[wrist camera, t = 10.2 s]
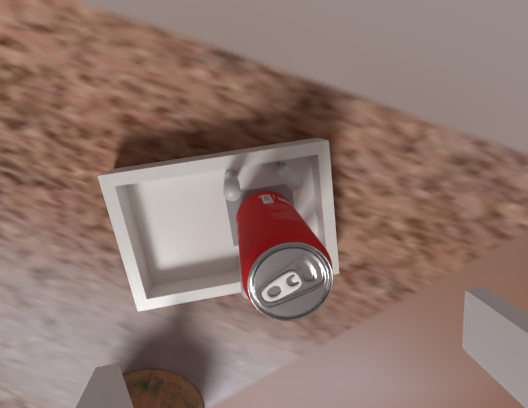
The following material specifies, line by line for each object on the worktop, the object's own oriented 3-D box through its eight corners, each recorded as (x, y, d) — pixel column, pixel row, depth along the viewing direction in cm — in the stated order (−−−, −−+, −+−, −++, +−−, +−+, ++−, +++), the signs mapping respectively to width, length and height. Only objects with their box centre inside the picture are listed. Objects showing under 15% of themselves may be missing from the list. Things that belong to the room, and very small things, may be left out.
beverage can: (302, 223, 29) (353, 294, 17) (254, 252, 29) (273, 340, 17) (275, 176, 27) (311, 219, 16) (224, 207, 27) (223, 271, 16)
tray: (147, 290, 30) (124, 340, 23) (113, 168, 27) (75, 185, 20) (327, 257, 31) (355, 295, 25) (316, 137, 28) (345, 143, 21)
